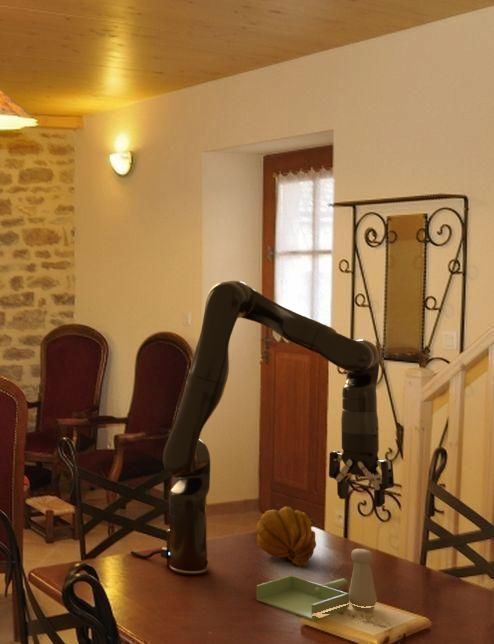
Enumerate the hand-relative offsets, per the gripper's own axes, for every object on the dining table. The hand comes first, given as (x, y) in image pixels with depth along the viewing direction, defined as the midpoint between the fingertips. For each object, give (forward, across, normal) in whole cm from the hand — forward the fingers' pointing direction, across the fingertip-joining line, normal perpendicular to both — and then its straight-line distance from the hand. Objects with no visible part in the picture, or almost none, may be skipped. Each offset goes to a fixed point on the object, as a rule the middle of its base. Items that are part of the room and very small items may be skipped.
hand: (360, 502), depth 199 cm
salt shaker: (+24, 0, 0) cm, 24 cm away
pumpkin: (+24, -32, +17) cm, 43 cm away
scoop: (+24, -9, -4) cm, 26 cm away
